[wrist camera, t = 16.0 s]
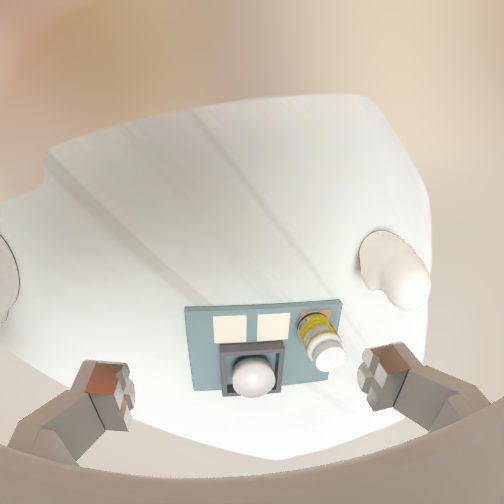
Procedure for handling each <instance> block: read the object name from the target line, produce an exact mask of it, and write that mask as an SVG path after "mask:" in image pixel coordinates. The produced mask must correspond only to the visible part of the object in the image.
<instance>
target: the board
mask: <svg viewBox="0 0 504 504" xmlns="http://www.w3.org/2000/svg"><path fill="white" fill-rule="evenodd" d="M341 309H342V302H341V301H340V300H327V301H313V302H298V303H281V304H263V305H240V306H211V307H185V321H186V331H187V340H188V349H189V357H190V365H191V373H192V381H193V388H194V391H205V390H222V395H223V397H225V396H241V395H239V394H238V393H237V392H236V391H235V390H234V388H233V381H232V369H233V367H234V366H235V365H236V364H237V363H238V362H239V361H241V360H243V359H246V358H250V357H259V358H263V359H265V360H267V361H268V362H269V363H270V364H271V366H272V369H273V373H274V376H275V385H274V387H273V388H272V390H271V391H269V392H268V393H279V392H281V386H283V385H292V384H300V383H308V382H316V381H323V380H327V378H328V374H329V372H323V371H320V370H319V369H317V367H316V365H315V363H314V362H313V361H311V360H310V359H309V357H308V355H307V353H306V350H305V348H304V346H303V344H302V342H301V340H300V337H299V335H298V333H297V330H296V326H297V322H298V320H299V319H300V318H301V317H302V316H303V315H304V314H306V313H308V312H311V311H319V312H322V313H323V314H324V315H325V316H326V317H327V319H328V320H329V322H330V323H331V325H332V326H333V328H334V329H335V331H336V332H337V331H338V326H339V320H340V315H341ZM268 393H267V394H268Z"/></svg>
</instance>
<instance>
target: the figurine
mask: <svg viewBox="0 0 504 504" xmlns="http://www.w3.org/2000/svg"><path fill="white" fill-rule="evenodd" d="M359 257H360V266H361V273H362V277H363V280H364V282H365V285H366V286H367V288H368V289H369V290H372V291H374V290H382V291H384V293H385V294H386V296H387V298H388V299H389V301H390V302H391V303H392V304H393V305H395V306H396V307H398V308H400V309H402V310H414V309H417V308H419V307H420V306H422V305H423V304H424V303H425V301H426V300H427V299H428V297H429V294H430V291H431V278H430V274H429V272H428V270H427V268H426V266H425V264H424V263H423V261H422V260H421V259H420V257H419V256H418V255H417V253H416V252H415V250H414V249H413V248H412V247H411V245H410V244H409V243H407V242H406V241H405V240H404V239H402V238H401V237H399V236H397V235H395V234H393V233H390V232H386V231H375V232H373V233H371V234H369V235H368V236H367V237H366V238H365V239H364V241H363V242H362V244H361V247H360V251H359Z"/></svg>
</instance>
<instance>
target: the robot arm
mask: <svg viewBox="0 0 504 504" xmlns="http://www.w3.org/2000/svg"><path fill="white" fill-rule="evenodd" d="M18 291H19V276H18V270H17V266H16V263H15V260H14V257H13V255H12V253H11V251H10V249H9V247H8V246H7V244H6V243H5V241H4V240H3V239H2V237H1V236H0V323H3V322H4V321H5V320H6V319H7V315H8V310H9V308H10V307H11V306H12V304H13V303H14V302H15V300H16V298H17V296H18ZM362 359H363V361H364V362H363V363H362V364H361V365H360V366H359V369H358V373H357V380H358V384H359V387H360V389H361V391H363V392H365V393H367V394H368V395H367V401H368V403H369V405H370V406H371V408H372V410H373V411H378V410H382V409H386V408H390V407H393V408H394V409H396V410H397V411H399V412H400V413H402V414H403V415H405V416H406V417H408V418H410V419H411V420H413V421H414V422H416V423H418V424H419V425H420V426H422V427H423V428H425V429H426V430H428V431H429V432H428V433H427V434H426V435H423V436H421V437H418V438H415V439H413V440H410V441H407V442H404V443H402V444H399V445H396V446H393V447H390V448H387V449H383V450H380V451H377V452H374V453H370V454H367V455H363V456H359V457H356V458H352V459H348V460H344V461H340V462H335V463H331V464H326V465H321V466H316V467H311V468H306V469H301V470H293V471H287V472H280V473H272V474H263V475H252V476H240V477H222V478H171V477H170V478H169V477H153V476H140V475H131V474H121V473H114V472H107V471H100V470H95V469H89V468H84V467H79V465H78V464H77V462H76V461H77V460H78V459H79V458H80V457H81V456H82V455H83V454H84V453H85V451H86V450H87V449H89V448H90V446H91V445H92V444H93V443H94V442H95V441H96V440H97V439H98V438H99V437H100V436H101V435H102V434H103V433H104V432H105V430H114V431H129V427H130V422H131V418H132V417H131V414H130V410H131V409H132V408H133V407H134V403H135V390H134V385H133V382H132V381H131V380H130V379H129V378H128V377H129V373H130V371H129V368H128V365H127V364H126V363H121V362H108V361H94V360H85V361H83V363H82V365H81V367H80V369H79V372H78V374H77V376H76V378H75V380H74V382H73V385H72V387H71V389H70V391H68V390H66V391H64V392H63V393H61V394H60V395H58V396H57V397H55V398H54V399H52V400H51V401H49V402H48V403H46V404H45V405H43V406H42V407H40V408H39V409H37V410H35V411H34V412H33V413H31V414H29V415H28V416H26V417H25V418H23V419H22V420H20V421H19V422H18V425H17V427H16V429H15V431H14V433H13V435H12V437H11V440H10V442H9V444H8V446H4V445H1V444H0V504H504V397H502V398H501V399H499V400H497V401H495V402H493V403H492V404H491V403H490V402H489V401H488V399H487V398H486V397H485V396H484V395H483V394H482V393H481V392H480V391H479V389H478V388H477V387H476V386H475V385H473V384H470V383H468V382H465V381H463V380H460V379H458V378H456V377H453V376H450V375H448V374H446V373H443V372H441V371H439V370H436V369H434V368H431V367H429V366H427V365H426V366H423V365H422V364H421V363H420V362H419V360H418V359H417V358H416V357H415V356H414V355H413V353H412V352H411V351H410V350H409V349H408V348H407V346H406V345H405V344H404V343H402V342H396V343H392V344H389V345H383V346H377V347H372V348H366V349H365V350H364V351H363V354H362Z"/></svg>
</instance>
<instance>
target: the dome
mask: <svg viewBox="0 0 504 504" xmlns="http://www.w3.org/2000/svg"><path fill="white" fill-rule="evenodd" d="M232 381H233V388H234V390H235V391H236V392H237V393H238V394H239V395H241V396H244V397H250V398H253V397H259V396H262V395H265V394H267V393H268V392H269V391H271V390H272V388H273V387H274V385H275V376H274V373H273V369H272V366H271V364H270V363H269V362H268V361H267V360H265V359H263V358H259V357H250V358H246V359H243V360H241V361H239V362H238V363H237V364H236V365H235V366H234V367H233V369H232Z"/></svg>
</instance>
